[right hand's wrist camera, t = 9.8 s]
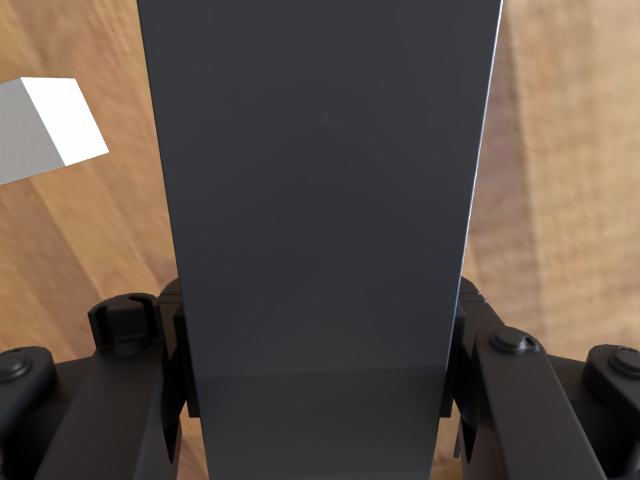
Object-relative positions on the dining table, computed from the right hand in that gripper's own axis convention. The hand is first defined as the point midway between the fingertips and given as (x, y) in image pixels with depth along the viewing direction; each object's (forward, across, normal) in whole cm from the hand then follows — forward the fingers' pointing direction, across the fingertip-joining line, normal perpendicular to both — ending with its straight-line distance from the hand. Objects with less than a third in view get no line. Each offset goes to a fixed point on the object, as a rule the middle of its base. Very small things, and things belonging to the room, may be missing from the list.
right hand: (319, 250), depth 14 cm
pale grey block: (+15, +18, -3) cm, 23 cm away
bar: (0, 0, -9) cm, 9 cm away
